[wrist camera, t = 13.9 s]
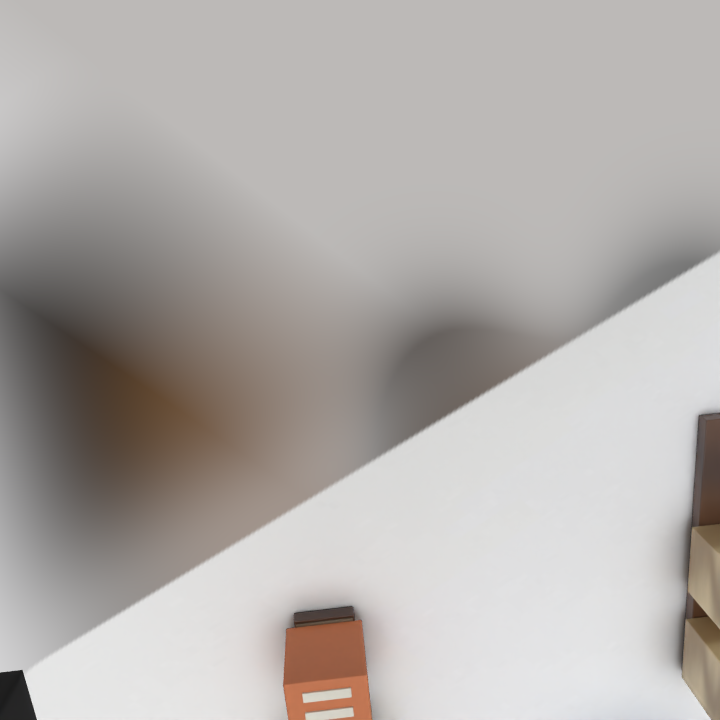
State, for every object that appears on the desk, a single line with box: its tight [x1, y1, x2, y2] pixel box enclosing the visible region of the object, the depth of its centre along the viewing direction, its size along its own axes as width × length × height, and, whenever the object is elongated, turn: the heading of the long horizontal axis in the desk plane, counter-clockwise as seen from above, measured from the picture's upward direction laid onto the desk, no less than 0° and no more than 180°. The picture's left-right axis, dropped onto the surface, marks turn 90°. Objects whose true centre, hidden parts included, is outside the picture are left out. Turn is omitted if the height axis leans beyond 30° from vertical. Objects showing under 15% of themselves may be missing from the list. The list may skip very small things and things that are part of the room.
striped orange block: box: [283, 620, 372, 720], centre depth 39 cm, size 4×4×5 cm
